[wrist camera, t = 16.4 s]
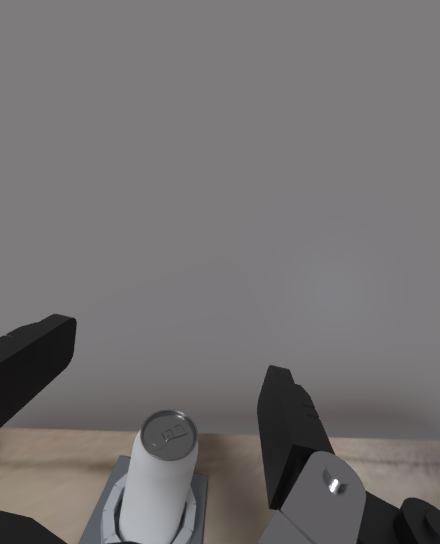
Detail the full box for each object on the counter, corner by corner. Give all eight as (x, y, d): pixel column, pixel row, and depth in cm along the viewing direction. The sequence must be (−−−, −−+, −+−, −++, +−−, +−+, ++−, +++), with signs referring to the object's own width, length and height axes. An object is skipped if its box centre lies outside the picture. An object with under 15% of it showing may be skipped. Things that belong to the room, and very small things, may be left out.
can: (110, 507, 27) (125, 418, 24) (163, 477, 31) (181, 398, 29) (130, 579, 22) (152, 479, 20) (190, 532, 27) (215, 445, 24)
